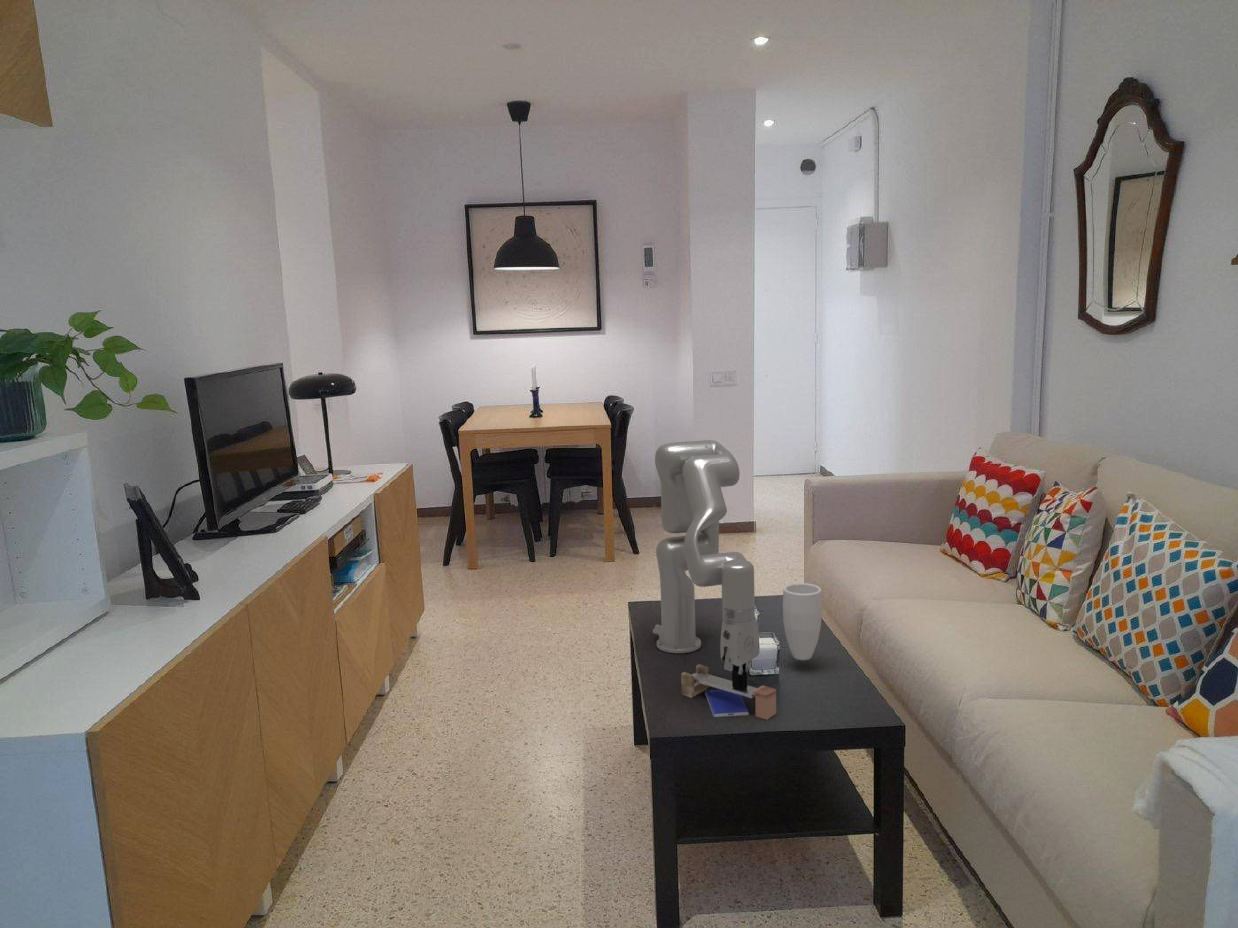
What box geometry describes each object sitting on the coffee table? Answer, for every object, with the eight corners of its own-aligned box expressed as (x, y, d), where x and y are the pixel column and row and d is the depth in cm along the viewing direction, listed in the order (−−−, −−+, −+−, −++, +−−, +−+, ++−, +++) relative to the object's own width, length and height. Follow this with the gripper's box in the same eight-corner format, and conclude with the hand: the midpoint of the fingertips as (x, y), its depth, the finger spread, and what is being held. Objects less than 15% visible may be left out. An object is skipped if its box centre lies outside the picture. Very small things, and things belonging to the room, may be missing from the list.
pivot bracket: (681, 694, 205) (681, 673, 204) (699, 684, 210) (699, 664, 209) (691, 697, 203) (690, 676, 202) (709, 687, 208) (708, 667, 207)
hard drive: (705, 690, 205) (713, 712, 193) (738, 688, 205) (748, 710, 193) (705, 696, 205) (713, 719, 193) (738, 694, 206) (748, 716, 193)
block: (753, 715, 193) (753, 690, 192) (763, 709, 196) (762, 685, 195) (766, 719, 190) (766, 695, 189) (776, 713, 193) (776, 689, 192)
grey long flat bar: (688, 680, 205) (687, 675, 205) (697, 675, 208) (697, 670, 208) (751, 699, 192) (751, 693, 192) (761, 693, 195) (761, 687, 195)
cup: (773, 667, 219) (773, 588, 216) (797, 656, 226) (797, 579, 223) (807, 678, 212) (807, 597, 208) (830, 666, 218) (831, 587, 215)
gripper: (733, 625, 186) (734, 702, 189) (769, 607, 197) (770, 681, 199) (706, 618, 191) (708, 694, 194) (743, 602, 202) (744, 674, 205)
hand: (739, 687), depth 197 cm, fingers closed
